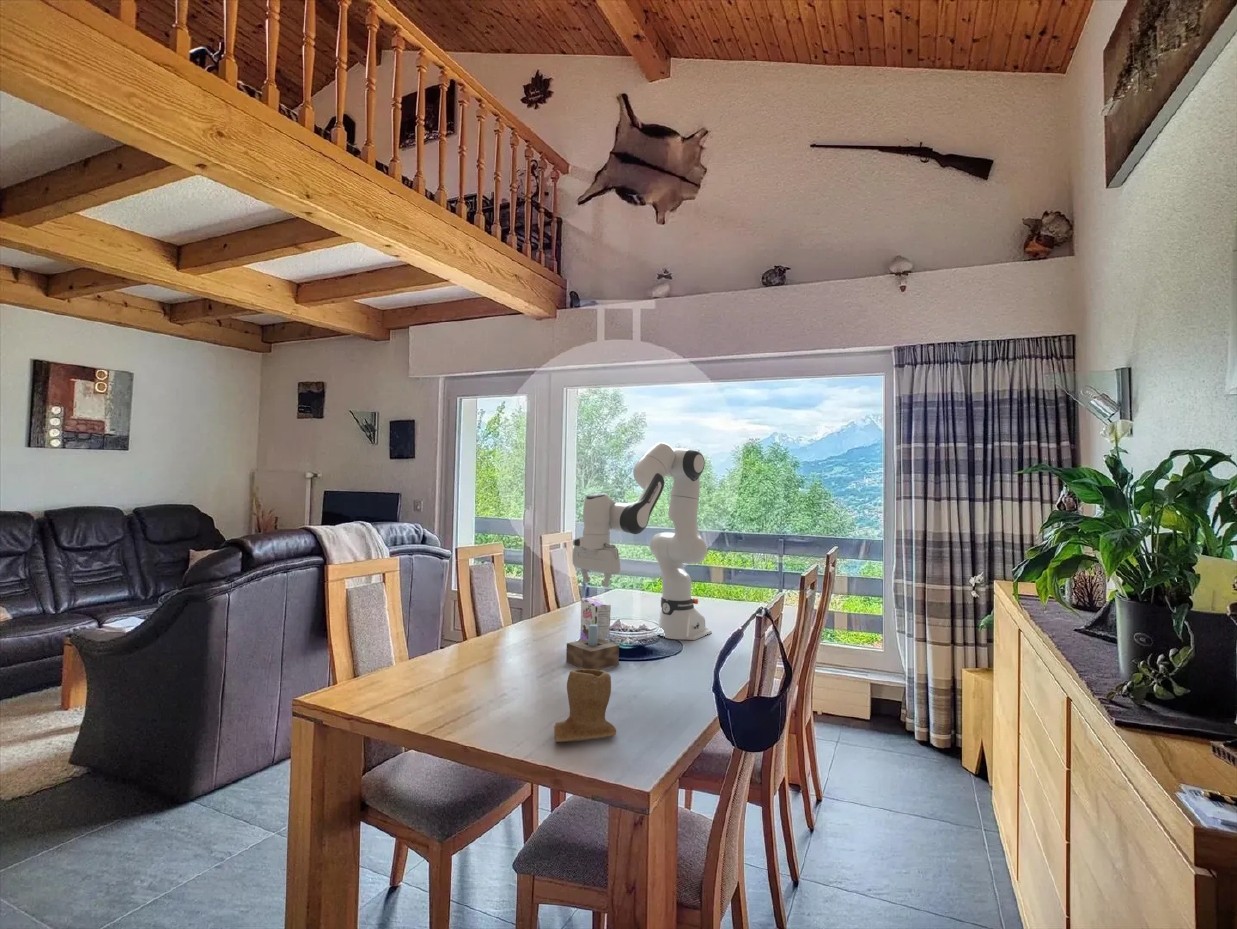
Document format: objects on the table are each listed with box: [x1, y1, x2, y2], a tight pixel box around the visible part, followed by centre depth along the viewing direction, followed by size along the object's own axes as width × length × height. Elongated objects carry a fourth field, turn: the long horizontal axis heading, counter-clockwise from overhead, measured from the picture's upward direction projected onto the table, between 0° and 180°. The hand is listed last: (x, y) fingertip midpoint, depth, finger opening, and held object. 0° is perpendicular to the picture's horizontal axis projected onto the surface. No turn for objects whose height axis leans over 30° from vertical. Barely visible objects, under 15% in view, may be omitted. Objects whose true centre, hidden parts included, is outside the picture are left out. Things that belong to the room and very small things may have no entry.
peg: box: [588, 625, 598, 647], centre depth 201 cm, size 3×3×12 cm
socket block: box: [565, 639, 620, 670], centre depth 201 cm, size 12×12×6 cm
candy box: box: [579, 596, 612, 641], centre depth 218 cm, size 14×6×16 cm, turn 25°
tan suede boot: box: [553, 668, 617, 743], centre depth 145 cm, size 15×12×15 cm
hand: (595, 584), depth 204 cm, fingers open, 8 cm apart
